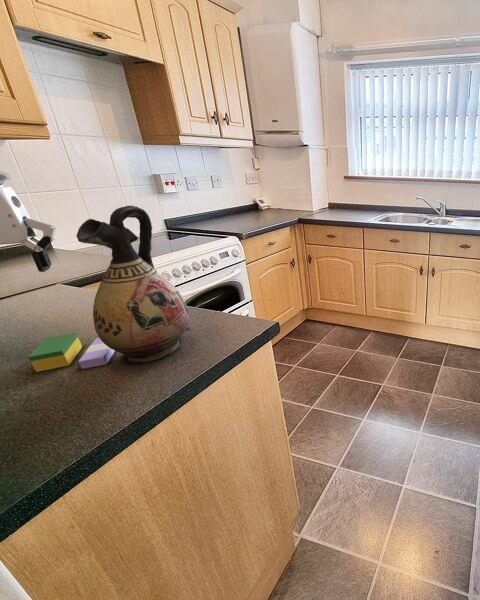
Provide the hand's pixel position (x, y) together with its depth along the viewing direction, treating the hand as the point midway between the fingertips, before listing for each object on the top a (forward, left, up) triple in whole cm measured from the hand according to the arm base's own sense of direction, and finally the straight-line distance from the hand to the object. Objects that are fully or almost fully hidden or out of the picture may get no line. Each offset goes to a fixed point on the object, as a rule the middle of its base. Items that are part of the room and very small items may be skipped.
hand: (12, 272), depth 65 cm
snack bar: (+10, -7, -18) cm, 22 cm away
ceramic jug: (+21, -10, -18) cm, 29 cm away
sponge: (+3, -5, -18) cm, 19 cm away
